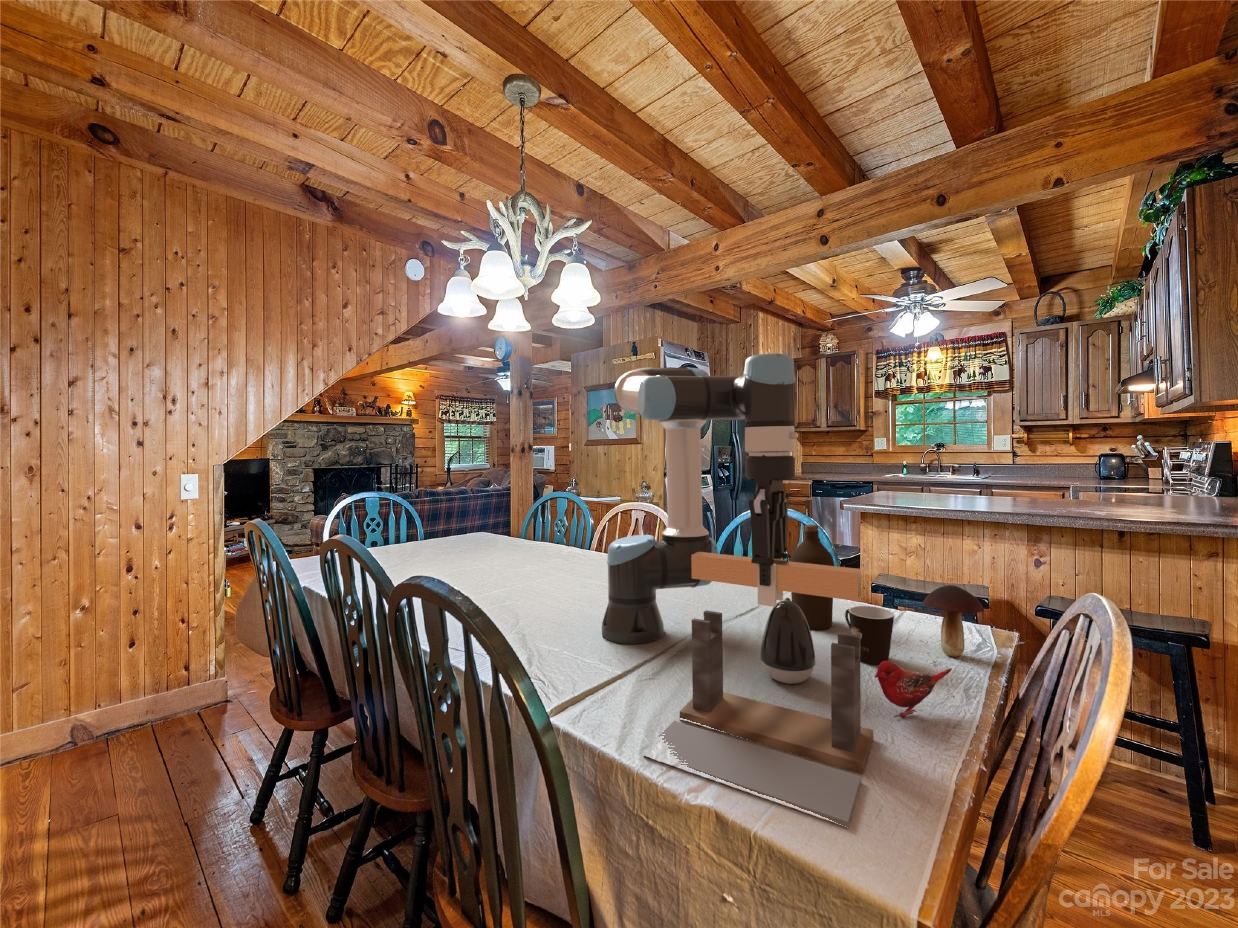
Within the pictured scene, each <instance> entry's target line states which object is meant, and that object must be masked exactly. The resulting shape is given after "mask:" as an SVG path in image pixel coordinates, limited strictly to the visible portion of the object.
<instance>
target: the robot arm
mask: <svg viewBox="0 0 1238 928" xmlns="http://www.w3.org/2000/svg"><path fill="white" fill-rule="evenodd" d="M796 380H797V378H796V376H795V361H794V359H793V357H792V356H791V355H790V354H787V353H772V352H771V353H762V354H761V353H760V354H755V355H754V354H753V355H751V356H749V357H747V358H746V360H745V361H744V370H743V375H709V374H708V372H707V371H706V370H704V368H703V369H702V368H696V367H689V366H687V367H641V368H640V367H639V368H636V369H633V370H629V371H627V372H625V373H624V374H622V375H620V377H619V378H618V379H617V381H616V383H615V385H614V390H613V395H614V399H615V402H616V404H617V405H618V407H620V408H621V410H624V412H627V413H630V414H634V415H640V417H641V418H642V419H644V420H647V421H655V422H656V421H657V422H659V423H658V424H659V425H661V427H662V428H663V429H665V430H664V431H665V455H666V457H665V458H666V461H665V463H666V502H667V506H666V507H667V526H666V527H665V529H664V530H663V531H662V532H661V540H656V538H655V536H653V535H652V534H636V535H635V534H634V535H630V536H625V537H621V538H618V539H615V540H613V541H612V542H611V543H610V544H609V545H608V546H607V557H606V558H607V560H606V565H607V591H608V592H607V593H608V594H607V595H608V596H607V597H608V602H607V606H606V609H605V613H604V616H603V619H602V622H601V635H602V637H603V638H604V639H606V640H609V641H611V642H614V643H619V644H627V645H629V644H630V645H633V644H644V643H651V642H654V641H657V640H658V639H660V638H662V637H663V635H664V633H665V632H664V631H665V629H664V627H665V626H664V621H663V619H662V615H661V612H660V610H659V609H660V608H659V606H658V602H657V590H664V589H667V590H668V589H678V588H679V589H681V588H691V589H694V588H697V587H703V586H709V585H710V584H711V583H712V582H713V581H707V580H700V579H693V578H692V562H691V555H693V554H695V553H697V552H706V553H715V554H719V551H718V545H717V542H716V541H715V539H713V538H711V537H710V532H709V531H708V529H707V528H705V527H704V525H703V486H702V483H703V482H702V479H703V478H702V448H701V447H702V444H701V440H702V439H701V428H702V427H703V426H704V425H705V424H706V423H707V420H709V421H711V420H717V421H718V420H729V421H739V422H740V421H744V451H745V453H748V455H747V456H746V457H745V459H744V460H745V463H744V464H745V466H744V467H745V468H744V469H745V472H744V473H745V475H744V476H745V478H746V479H748V480H750V481H756V485H755V491H754V493H753V499H752V498H749V500H748V507H749V514H750V529H751V530H750V531H751V533H750V534H751V557H752V560H751V562H752V563H755V564H758V587H757V605H759V606H760V605H761V606H767V607H771V608H773V607H776V604H777V601H784V591H780V590H776V564H774V560H780V561H784V559H785V560H788V559H789V557H790V553H786V552H787V551H788V511H789V509H788V508H789V499H790V493H789V492H788V491H787V492H786V490H784V489H785V488H784V483H783V481H791V480H794V479H795V477H796V458H795V456H794V455H791V453H793V452H794V451H796V450H795V443H796V442H795V439H798V438H799V433H798V432H795V421H796V418H795V417H796V415H795V414H796V382H797V381H796Z"/></svg>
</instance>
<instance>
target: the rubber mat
mask: <svg viewBox="0 0 1238 928" xmlns="http://www.w3.org/2000/svg"><path fill="white" fill-rule="evenodd" d="M663 731H664V732H663ZM663 731H662V732H661V733H662V734H665V735H662V734H661V733H660V734H659V735H658V736H659V737H660V736H664V738H662V740H665V739H666V741H664V743H666V742H668V744H667V745H670V746H675V747H668V748H669V749H673V750H671V751H675V752H677V753H674V752H673V753H670V754H674V755H673V756H677V757H678V758H676V759H679V760H683V761H679V762H682V763H684V762H685V763H688V764H681V765H687V767H689V768H692V769H694V770H696V771H699V772H703V773H705V774H708V775H710V776H713V777H715V778H716V777H717V778H719V779H721V780H724V781H726V782H730V783H733V784H735V785H737V786H741V787H743V788H745V789H749V790H750V791H754V792H757V793H758V794H762V795H766V796H769V797H772V798H776V799H778V800H781V801H785V802H786V803H789V804H792V805H794V806H797V807H799V808H801V809H804V810H807V811H811V812H813V813H815V814H818V815H820V816H822V817H825V818H828V819H829V820H832V821H834V822H836V823H838V824H841V825H843V826H846V827H848V828H849V826H850V823H851V819H852V816H853V812H854V809H853V807H854V808H855V805H856V802H855V801H857V798H858V795H857V794H859V791H860V787H861V784H862V775H858V774H854V773H851V772H847V771H846V770H845V771H844V770H842V769H838V768H835V767H830V766H827V765H825V764H821V763H817V762H813V761H811V760H807V759H804V758H801V757H797V756H795V755H790V754H787V753H784V752H780V751H777V750H773V749H770V748H767V747H763V746H760V745H756V744H755V743H754V744H753V743H751V742H747V741H745V740H740V739H736V738H733V737H729V736H727V735H723V734H720V733H717V732H713V731H710V730H707V729H703V728H700V727H696V726H694V725H690V724H687V723H683V722H679V721H677V720H673V721H672V722H671V723H670V724H669V725H668V726H667V727H665V729H664V730H663ZM659 742H660V741H659ZM671 743H672V744H671ZM671 751H670V752H671ZM677 754H678V755H677ZM681 757H682V758H681ZM684 760H686V761H684ZM854 804H855V805H854ZM852 811H853V812H852ZM851 815H852V816H851ZM850 818H851V819H850ZM849 822H850V823H849ZM843 826H842V827H843Z"/></svg>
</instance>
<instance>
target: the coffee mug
mask: <svg viewBox="0 0 1238 928" xmlns="http://www.w3.org/2000/svg"><path fill="white" fill-rule="evenodd" d="M844 613H845V614H844V618H845V621H846V624H847V627H849V629H850V631H851V633H850V634H854V635H860V664H861V663H862V664H865V665H869V666H876V667H877V666H879V664H880V663H881V662H883V661H889V658H890V651H891V645H892V644H891V642H892V636H893V627H894V620H895V613H894V612H893V611H891V610H889V609H886V608H883V607H879V606H872V605H871V606H870V605H856V606H852V607H849V608H847V609H846V610H845V612H844Z"/></svg>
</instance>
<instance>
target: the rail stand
mask: <svg viewBox="0 0 1238 928" xmlns="http://www.w3.org/2000/svg"><path fill="white" fill-rule="evenodd" d="M723 644H724V643H723V612H719V611H713V610H707V609H705V610H704V611H703V619H699V618H695V617H694V618H692V619H691V667H692V668H691V669H692V670H691V671H692V673H691V674H692V675H691V676H692V677H691V678H692V679H691V681H692V699H690V701H689V702H687V703H686V704H685V705H684V706H683V707H682V708H681V709H680V710H679V719H680V718H683V719H687V720H690V721H692V722H696V723H700V724H701V725H706V726H709V727H711V728H714V729H717V730H720V731H724V732H726V733H728V734H732V735H734V736H733V737H735V736H738V737H737V738H739V737H742V738H744V739H743V740H745V739H748V740H747V741H749V740H751V741H750V742H752V741H754V742H753V743H756V742H758V743H757V744H759V743H761V744H760V745H762V744H763V746H766V745H768V746H767V747H769V746H771V747H770V748H772V749H776V748H777V750H779V749H781V750H780V751H783V750H784V751H783V752H786V751H788V752H787V753H790V752H792V753H791V754H793V753H794V754H793V755H796V754H798V755H797V756H800V757H803V756H804V758H807V757H808V758H807V759H810V758H811V759H810V760H813V759H814V760H815V761H817V760H818V761H817V762H820V763H824V764H827V765H830V766H835V767H837V768H840V769H843V770H848V771H850V772H855V773H858V774H862V775H864V773H865V771H866V770H865V769H866V766H867V763H868V759H869V756H870V752H871V749H872V747H873V743H874V729H870V728H868V727H864V726H862V725H861V724H862V723H861V721H862V720H861V717H862V716H861V714H862V712H861V708H862V707H861V705H862V704H861V662H860V635H854V634H852V633H849V632H848V633H847V632H846V633H845V632H841V631H839V632H838V633H837V642H836V643H835V642H832V643H831V644H830V669H831V670H830V677H831V678H830V685H831V686H830V688H831V689H830V690H831V691H830V692H831V693H830V695H831V696H830V697H831V698H830V700H831V702H830V703H831V704H830V705H831V707H830V709H831V715H830V717H831V719H830V718H827V717H824V716H819V715H815V714H811V713H808V712H804V711H799V710H795V709H792V708H787V707H783V706H779V705H775V704H771V703H767V702H764V701H760V700H756V699H751V698H747V697H744V696H741V695H740V696H739V695H735V694H732V693H728V692H724V661H723V660H724V659H723V658H724V657H723V656H724V654H723V652H724V651H723V650H724V648H723ZM728 734H727V735H728ZM732 735H731V736H732ZM742 738H741V739H742Z"/></svg>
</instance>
